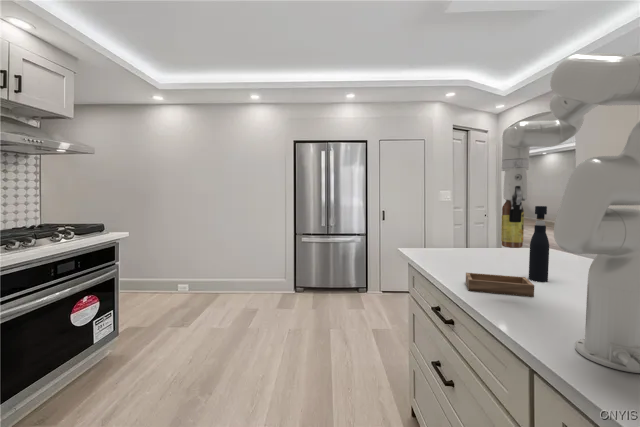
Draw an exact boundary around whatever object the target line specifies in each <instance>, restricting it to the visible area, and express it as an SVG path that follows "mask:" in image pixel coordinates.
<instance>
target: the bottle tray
mask: <svg viewBox="0 0 640 427" xmlns="http://www.w3.org/2000/svg"><path fill="white" fill-rule="evenodd" d="M465 285H466V288H467V290H468V292H475V293H476V292H477V293H487V294H496V295H497V294H498V295H506V296H507V295H508V296H517V297H518V296H519V297H530V298H534V297H535V285H534V284H533V283H532V281H531V280H529V278H527V277H526V276H515V275H514V276H513V275H502V274H500V275H499V274H488V273H478V272H477V273H475V272H474V273H473V272H465Z"/></svg>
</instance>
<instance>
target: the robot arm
mask: <svg viewBox="0 0 640 427" xmlns="http://www.w3.org/2000/svg"><path fill="white" fill-rule="evenodd" d="M550 90H551V91H552V92H553V95H552V96H551V98H550V102H549V110H550V112H551V114H552V115H553V116H554V117H555V118H557V119H555V120H522V121H518V122H516V123H515V124H513V126H510V127H506V128H505V129H504V130H503V132H502V143H501V144H502V146H501V148H502V149H501V172H504V180H503V199H504V200H505V201H506V199H507V200H509V201H510V202H511V209H510V213H509V221H510V222H521V214H522V210H521V209H522V207H523V203H522V202H523V201H524V202H525V201H527V199H528V176H527V171H529V169H530V168H529V166H530V165H529V164H530V151H531V150H530V148H532V147H533V148H535V147H536V148H539V147H540V148H541V147H542V148H543V147H544V148H547V147H548V148H551V147H555V146H558V145H561V144H563V143H566V142H567V141H568V140H569V139H571V138H573V137H574V136H576V135H577V133H578V132H579V131H580V130H581V128H582V126H583V124H584V120H585V115H586V114H588V113H589V112H591V111H592V110H594V109H595V108H596V107H598V106H605V107H606V106H608V107H609V106H640V55H625V54H622V53H615V52H614V53H613V52H612V53H611V52H608V53H607V52H606V53H605V52H603V53H576V54H572V55H570V56H568V57H566V58H565V59H563V60H561V62H560V63H559V64H558V65H557V66H556V68H555V69H554V70H553V73H552V75H551V77H550ZM512 196H513V197H512ZM513 198H516V199H513ZM513 202H514V205H513ZM610 206H640V120H639V121H638V122H637V123H636V124H635V125H634V127H633V128H632V130H631V131H630V133H629V135H628V137H627V140H626V143H625V145H624V147H623V149H622V151H621V153H620V154H619V155H599V156H593V157H590V158H587V159H584V160H583V161H582V162H580V163H579V164H578V165H577V166H576V167H575V168H574V169H573V171H572V172H571V174H570V175H569V178H568V180H567V183H566V186H565V189H564V192H563V196H562V197H561V201H560V205H559V208H558V211H557V213H556V216H555V220H554V223H553V224H554V225H553V237H554V240H555V243H556V245H557V246H558V247H559V248H560V249H561V250H563V251H565V252H567V253H571V254H575V255H595V258H593V260H592V262H591V263H590V266H589V268H588V274H587V286H586V287H587V288H586V307H585V324H584V325H585V326H584V327H585V328H584V338H582V339H578V340H575V343H574V348H575V350H576V352H577V353H579V355H581V356H582V357H584V358H586V359H588V360H589V361H592V362H594V363H597V365H598V364H599V365H602V366H604V367H607V368H611V369H614V370H618V371H622V372H627V373H634V374H640V209H637V208H629V207H610Z"/></svg>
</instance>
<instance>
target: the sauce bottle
mask: <svg viewBox="0 0 640 427" xmlns="http://www.w3.org/2000/svg"><path fill="white" fill-rule="evenodd" d="M512 197H513V196H512ZM513 199H516V198H513ZM513 205H514V202H513ZM510 209H511V202H510V201H509V200H507V199H506V200H505V203H503V205H502V209H501V229H500V230H501V232H500V234H501V235H500V240H501V241H500V242H501V246H502V247H505V248H510V249H514V248H516V249H519V248H523V244H524V234H525V233H524V229H525V227H524V226H525V210H524V207H523V206H522V209H521V210H522V214H521V222H510V221H509V213H510Z"/></svg>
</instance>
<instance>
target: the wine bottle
mask: <svg viewBox="0 0 640 427" xmlns="http://www.w3.org/2000/svg"><path fill="white" fill-rule="evenodd" d="M547 212H548V206H547V205H535V207H534V214H535V215H536V220H535V224H534V229H533V230H534V231H533V234H532V237H531V239H530V242H529V257H528V258H529V259H528V262H529V263H528V280H529V279H530V280H529V281H532V280H533V281H532V282H536V281H537V283H547V282H548V281H549V262H550V260H549V259H550V241H549V237H548V235H547V232H546V231H547V225H546V221H545V218H546V216H545V215H547V214H548V213H547Z"/></svg>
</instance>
